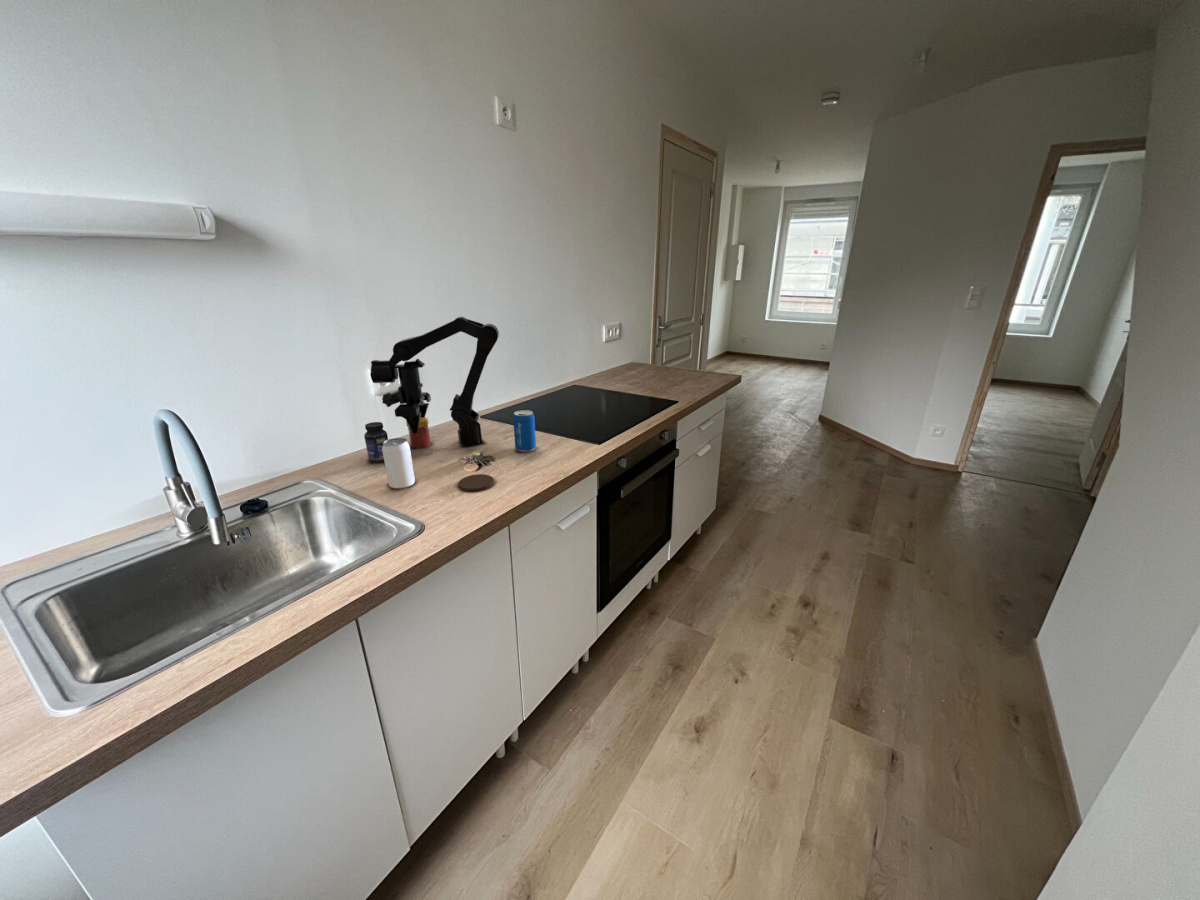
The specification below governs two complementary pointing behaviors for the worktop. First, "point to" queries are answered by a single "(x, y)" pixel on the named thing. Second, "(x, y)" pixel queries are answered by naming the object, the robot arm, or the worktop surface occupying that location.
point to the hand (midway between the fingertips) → (417, 429)
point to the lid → (421, 422)
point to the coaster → (476, 482)
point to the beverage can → (524, 430)
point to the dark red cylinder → (420, 438)
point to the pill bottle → (375, 441)
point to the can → (398, 463)
